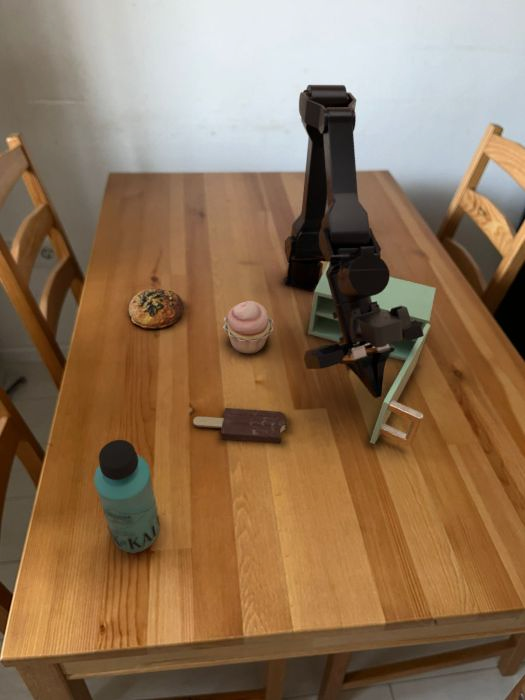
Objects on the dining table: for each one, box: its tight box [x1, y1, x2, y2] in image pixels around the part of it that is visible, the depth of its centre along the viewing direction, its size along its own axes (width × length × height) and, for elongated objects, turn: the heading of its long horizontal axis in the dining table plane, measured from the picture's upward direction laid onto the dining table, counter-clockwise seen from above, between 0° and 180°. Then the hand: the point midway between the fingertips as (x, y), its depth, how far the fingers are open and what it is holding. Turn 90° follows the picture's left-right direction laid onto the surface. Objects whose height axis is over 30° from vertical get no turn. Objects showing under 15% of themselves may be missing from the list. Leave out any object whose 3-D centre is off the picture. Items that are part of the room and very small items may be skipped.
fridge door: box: [369, 323, 431, 447], centre depth 84 cm, size 6×21×10 cm, turn 149°
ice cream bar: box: [192, 407, 287, 444], centre depth 83 cm, size 5×2×15 cm
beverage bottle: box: [93, 439, 161, 553], centre depth 62 cm, size 6×7×20 cm
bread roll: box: [128, 287, 185, 330], centre depth 101 cm, size 11×11×5 cm
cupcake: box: [222, 300, 275, 355], centre depth 94 cm, size 9×9×10 cm
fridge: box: [307, 262, 437, 362], centre depth 97 cm, size 10×21×11 cm, turn 70°
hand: (377, 397), depth 80 cm, fingers closed
